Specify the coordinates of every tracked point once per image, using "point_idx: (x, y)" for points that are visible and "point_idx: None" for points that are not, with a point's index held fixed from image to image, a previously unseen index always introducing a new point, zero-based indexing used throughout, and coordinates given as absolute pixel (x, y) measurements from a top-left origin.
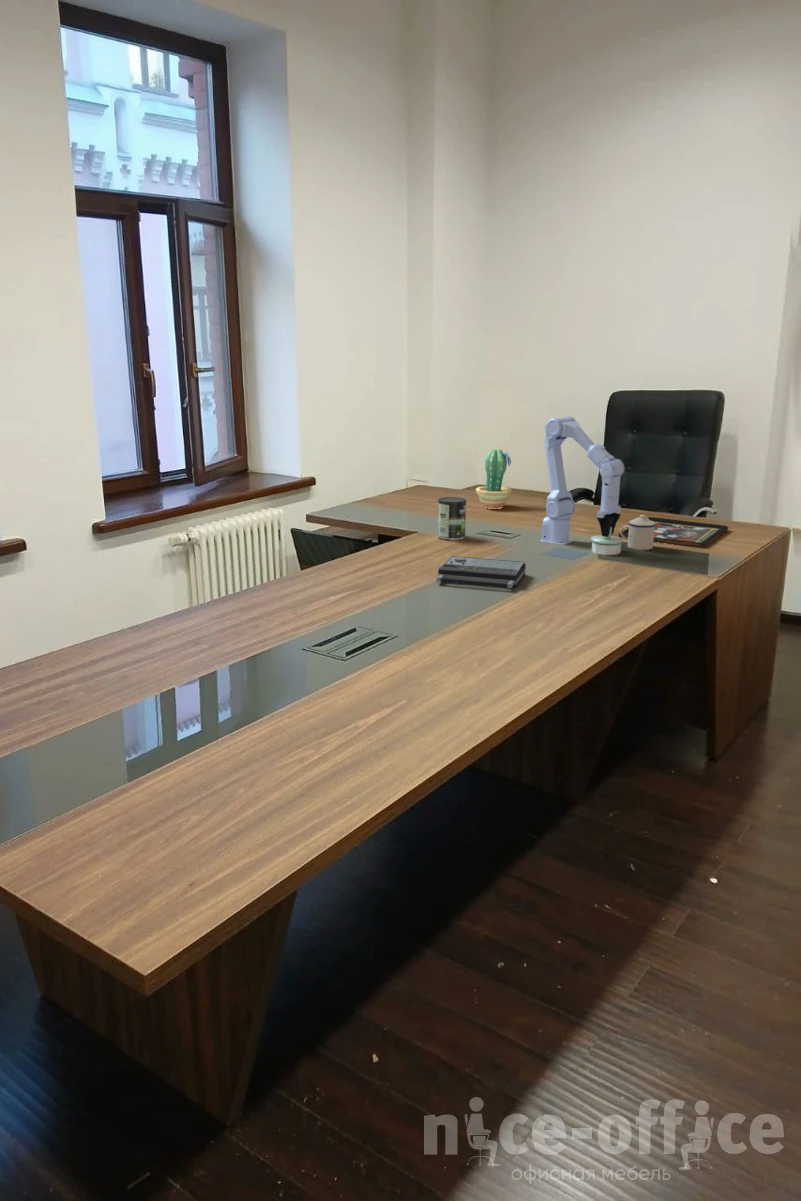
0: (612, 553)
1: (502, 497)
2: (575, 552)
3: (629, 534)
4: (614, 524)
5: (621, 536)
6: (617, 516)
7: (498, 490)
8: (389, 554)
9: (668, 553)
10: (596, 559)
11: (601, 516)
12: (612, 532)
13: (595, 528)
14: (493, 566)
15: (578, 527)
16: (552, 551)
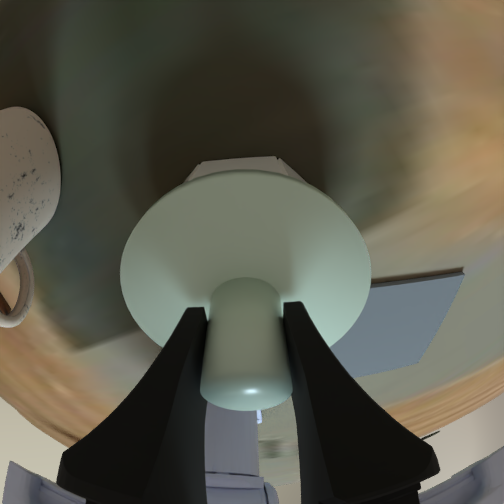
0: (301, 178)
1: None
2: (358, 325)
3: (12, 249)
4: (176, 393)
5: (4, 305)
6: (150, 497)
7: None
8: (445, 420)
9: (24, 9)
10: (421, 209)
11: (502, 462)
12: (199, 322)
13: (29, 372)
14: None
15: (59, 396)
16: (375, 366)
